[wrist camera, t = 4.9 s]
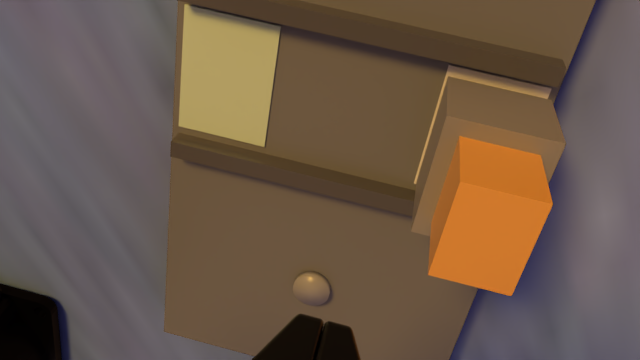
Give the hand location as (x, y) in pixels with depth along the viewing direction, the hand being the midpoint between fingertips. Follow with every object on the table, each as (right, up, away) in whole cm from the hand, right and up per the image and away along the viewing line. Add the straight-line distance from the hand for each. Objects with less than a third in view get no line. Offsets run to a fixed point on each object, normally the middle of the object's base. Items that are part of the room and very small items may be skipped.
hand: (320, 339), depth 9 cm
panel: (+1, +4, +8) cm, 10 cm away
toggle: (+4, +3, +7) cm, 9 cm away
